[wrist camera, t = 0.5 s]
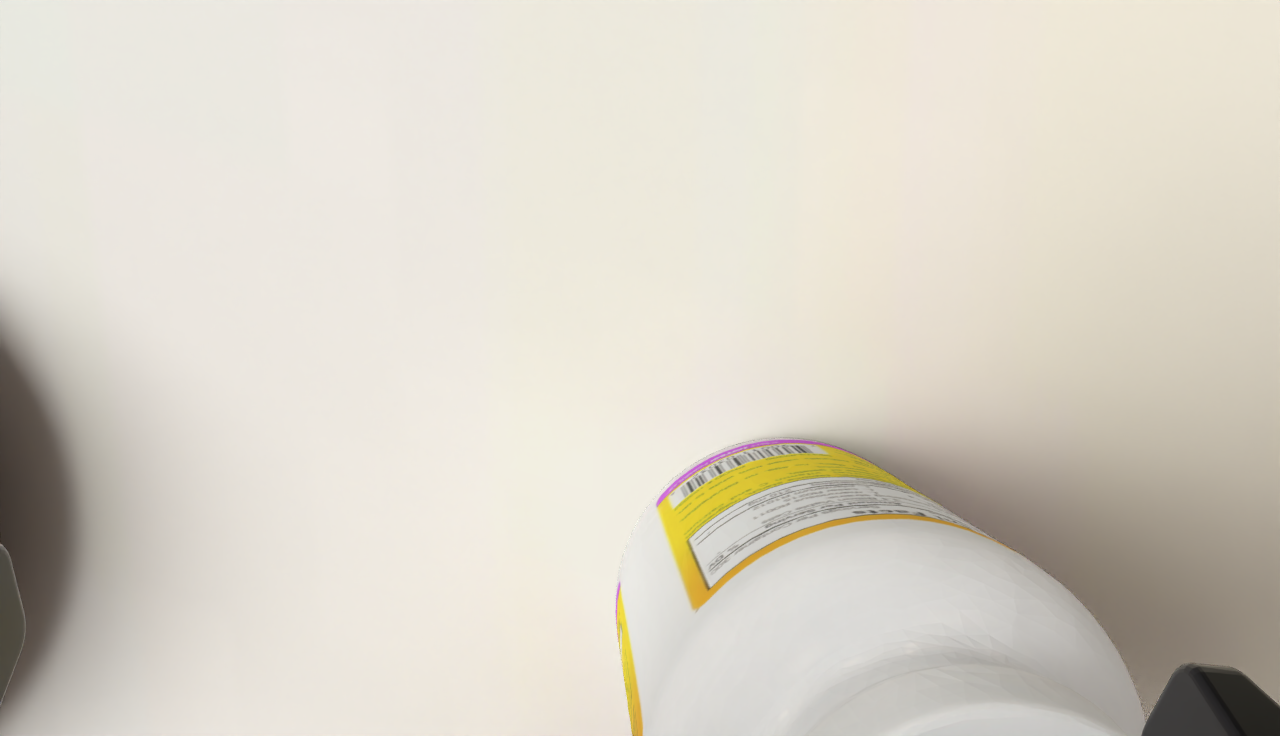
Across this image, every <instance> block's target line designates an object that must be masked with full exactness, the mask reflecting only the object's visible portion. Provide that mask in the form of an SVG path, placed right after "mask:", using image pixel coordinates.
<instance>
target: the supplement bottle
mask: <svg viewBox="0 0 1280 736" xmlns="http://www.w3.org/2000/svg"><path fill="white" fill-rule="evenodd" d="M616 624H617V635H618V642H619V648H620V654H621V661H622V667H623V674H624V681H625V688H626V695H627V701H628V710H629V715H630V721H631V729H632V735H633V736H1141V735H1142V731H1143V728H1144V726H1145V724H1146V721H1145V717H1144V713H1143V709H1142V706H1141V703H1140V700H1139V697H1138V694H1137V691H1136V689H1135V686H1134V683H1133V681H1132V678H1131V676H1130V674H1129V672H1128V670H1127V668H1126V666H1125V664H1124V662H1123V660H1122V658H1121V656H1120V654H1119V653H1118V651H1117V649H1116V648H1115V646H1114V645H1113V643H1112V641H1111V640H1110V638H1109V637H1108V635H1107V634H1106V632H1105V631H1104V629H1103V628H1102V627H1101V625H1100V624H1099V623H1098V622H1097V620H1096V619H1095V618H1094V617H1093V615H1092V614H1091V613H1090V612H1089V611H1088V610H1087V609H1086V608H1085V606H1084V605H1083V604H1082V603H1081V602H1080V601H1079V600H1078V599H1077V598H1076V597H1075V596H1074V595H1073V594H1072V593H1071V592H1070V591H1069V590H1067V589H1066V588H1065V587H1064V586H1063V585H1062V584H1061V583H1060V582H1058V581H1057V580H1055V579H1054V578H1053V577H1051V576H1050V575H1049V574H1047V573H1046V572H1045V571H1043V570H1042V569H1041V568H1040V567H1038V566H1037V565H1035V564H1034V563H1032V562H1031V561H1029V560H1028V559H1027V558H1025V557H1024V556H1022V555H1021V554H1019V553H1018V552H1016V551H1014V550H1013V549H1011V548H1009V547H1008V546H1006V545H1004V544H1002V543H1001V542H999V541H998V540H996V539H994V538H992V537H991V536H989V535H987V534H986V533H984V532H982V531H981V530H979V529H978V528H976V527H974V526H973V525H971V524H969V523H968V522H966V521H965V520H964V519H962V518H960V517H959V516H957V515H955V514H954V513H952V512H950V511H949V510H947V509H946V508H944V507H943V506H942V505H940V504H938V503H937V502H935V501H933V500H931V499H930V498H928V497H926V496H925V495H923V494H921V493H920V492H918V491H916V490H915V489H913V488H911V487H910V486H908V485H906V484H905V483H904V482H902V481H900V480H899V479H897V478H896V477H894V476H893V475H891V474H890V473H888V472H886V471H884V470H883V469H881V468H879V467H877V466H876V465H874V464H872V463H871V462H869V461H867V460H865V459H863V458H861V457H859V456H857V455H855V454H853V453H851V452H848V451H846V450H843V449H841V448H838V447H835V446H832V445H828V444H825V443H821V442H816V441H811V440H805V439H796V438H770V439H759V440H753V441H748V442H744V443H739V444H736V445H733V446H730V447H727V448H724V449H722V450H719V451H717V452H715V453H712V454H710V455H708V456H706V457H704V458H703V459H701V460H699V461H697V462H695V463H694V464H692V465H691V466H689V467H688V468H686V469H685V470H683V471H682V472H681V473H679V474H678V475H677V476H676V477H674V478H673V479H672V480H671V481H670V482H669V483H668V484H667V485H666V486H665V487H664V488H663V489H662V490H661V491H660V492H659V493H658V494H657V495H656V497H655V498H654V499H653V500H652V501H651V503H650V504H649V505H648V506H647V508H646V509H645V510H644V512H643V513H642V515H641V516H640V518H639V520H638V522H637V524H636V525H635V527H634V529H633V531H632V533H631V535H630V538H629V540H628V543H627V545H626V548H625V551H624V553H623V556H622V560H621V564H620V569H619V573H618V579H617V586H616Z"/></svg>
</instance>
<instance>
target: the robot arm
mask: <svg viewBox="0 0 1280 736" xmlns="http://www.w3.org/2000/svg"><path fill="white" fill-rule="evenodd" d="M25 632H26V619H25V613H24V609H23V605H22V601H21V597H20V593H19V589H18V585H17V581H16V577H15V573H14V569H13V565H12V561H11V558H10V555H9V552H8V551H7V550H6V548H5V547H4V546H3V545H2V544H0V706H1V703H2V700H3V698H4V695H5V693H6V690H7V687H8V685H9V682H10V680H11V677H12V674H13V672H14V669H15V667H16V664H17V661H18V659H19V656H20V654H21V651H22V648H23V644H24V639H25ZM1141 736H1280V706H1279V705H1278V704H1277V703H1276V702H1275V701H1274V700H1272V699H1271V698H1270V697H1269V696H1268V695H1267V694H1266V693H1265V692H1264V691H1263V690H1261V689H1260V688H1259V687H1258V686H1257V685H1256V684H1255V683H1254V682H1253V681H1251V680H1250V679H1249V678H1248V677H1247V676H1246V675H1244V674H1243V673H1242V672H1240V671H1239V670H1237V669H1234V668H1231V667H1226V666H1217V665H1207V664H1197V663H1186V664H1183V665H1182V666H1180V667H1179V668H1177V669H1176V670H1175V672H1174V673H1173V674H1172V676H1171V678H1170V680H1169V682H1168V683H1167V685H1166V687H1165V689H1164V691H1163V693H1162V694H1161V696H1160V698H1159V700H1158V702H1157V704H1156V705H1155V707H1154V709H1153V711H1152V713H1151V715H1150V716H1149V718H1148V720H1147V722H1146V724H1145V726H1144V728H1143V731H1142V735H1141Z"/></svg>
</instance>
